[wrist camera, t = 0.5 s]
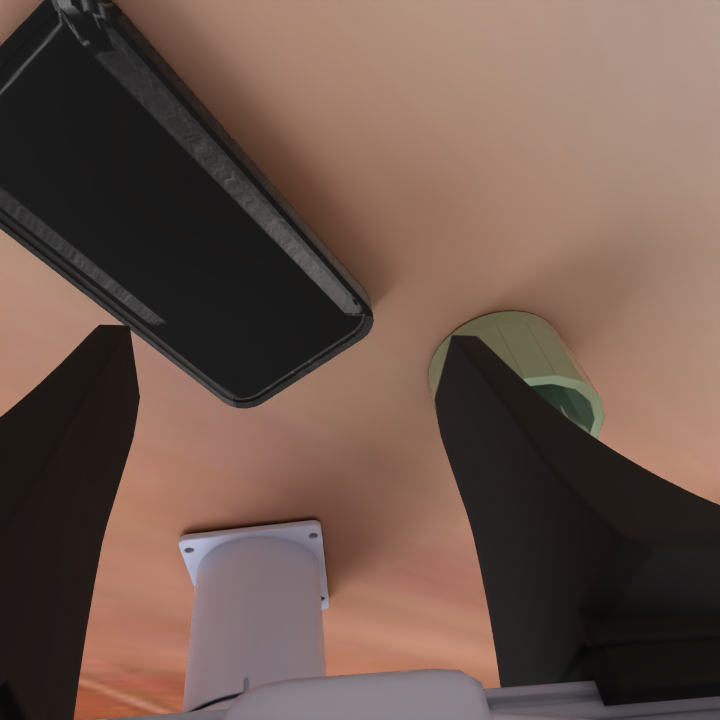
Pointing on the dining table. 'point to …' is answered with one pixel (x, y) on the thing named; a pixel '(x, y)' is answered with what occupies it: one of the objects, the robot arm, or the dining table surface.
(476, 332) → the cup
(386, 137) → the dining table surface
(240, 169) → the phone
